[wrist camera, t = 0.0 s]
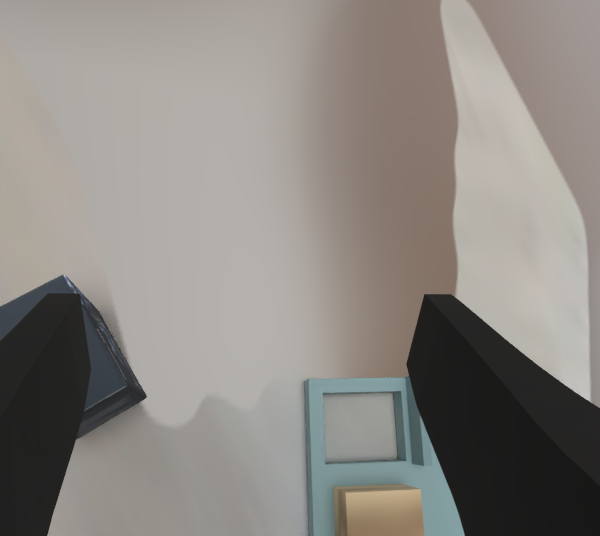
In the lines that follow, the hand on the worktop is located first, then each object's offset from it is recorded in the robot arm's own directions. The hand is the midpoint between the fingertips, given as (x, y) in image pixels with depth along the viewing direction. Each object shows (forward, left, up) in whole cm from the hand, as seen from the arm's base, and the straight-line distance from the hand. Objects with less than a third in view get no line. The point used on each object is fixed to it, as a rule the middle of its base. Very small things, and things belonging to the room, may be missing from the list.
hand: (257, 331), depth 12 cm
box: (+2, +10, -33) cm, 34 cm away
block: (-9, -10, -30) cm, 33 cm away
